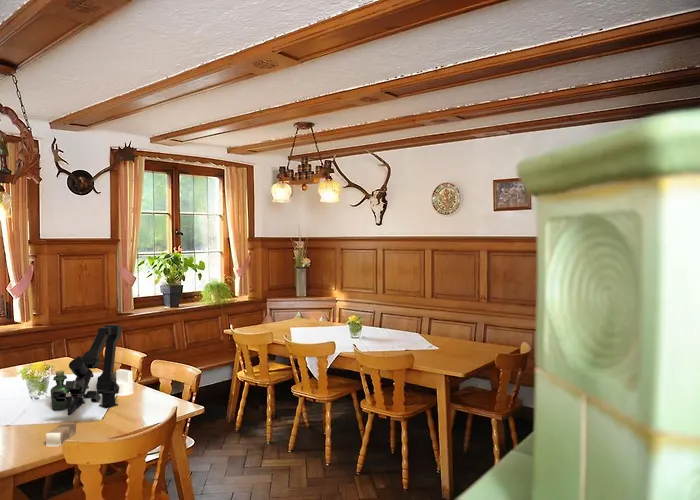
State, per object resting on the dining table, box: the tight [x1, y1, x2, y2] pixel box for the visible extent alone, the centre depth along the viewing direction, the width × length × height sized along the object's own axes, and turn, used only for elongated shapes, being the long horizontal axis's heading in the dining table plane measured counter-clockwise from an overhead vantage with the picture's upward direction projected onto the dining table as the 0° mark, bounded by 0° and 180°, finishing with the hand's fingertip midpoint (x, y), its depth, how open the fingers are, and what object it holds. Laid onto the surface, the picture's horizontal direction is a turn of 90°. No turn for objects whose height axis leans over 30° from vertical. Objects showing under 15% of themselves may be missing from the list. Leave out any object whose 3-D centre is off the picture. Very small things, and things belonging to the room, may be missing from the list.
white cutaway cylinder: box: [115, 368, 135, 397], centre depth 270 cm, size 9×9×12 cm
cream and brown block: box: [45, 421, 77, 448], centre depth 208 cm, size 5×5×13 cm
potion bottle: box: [50, 370, 70, 412], centre depth 245 cm, size 8×8×18 cm
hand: (68, 415), depth 214 cm, fingers closed
